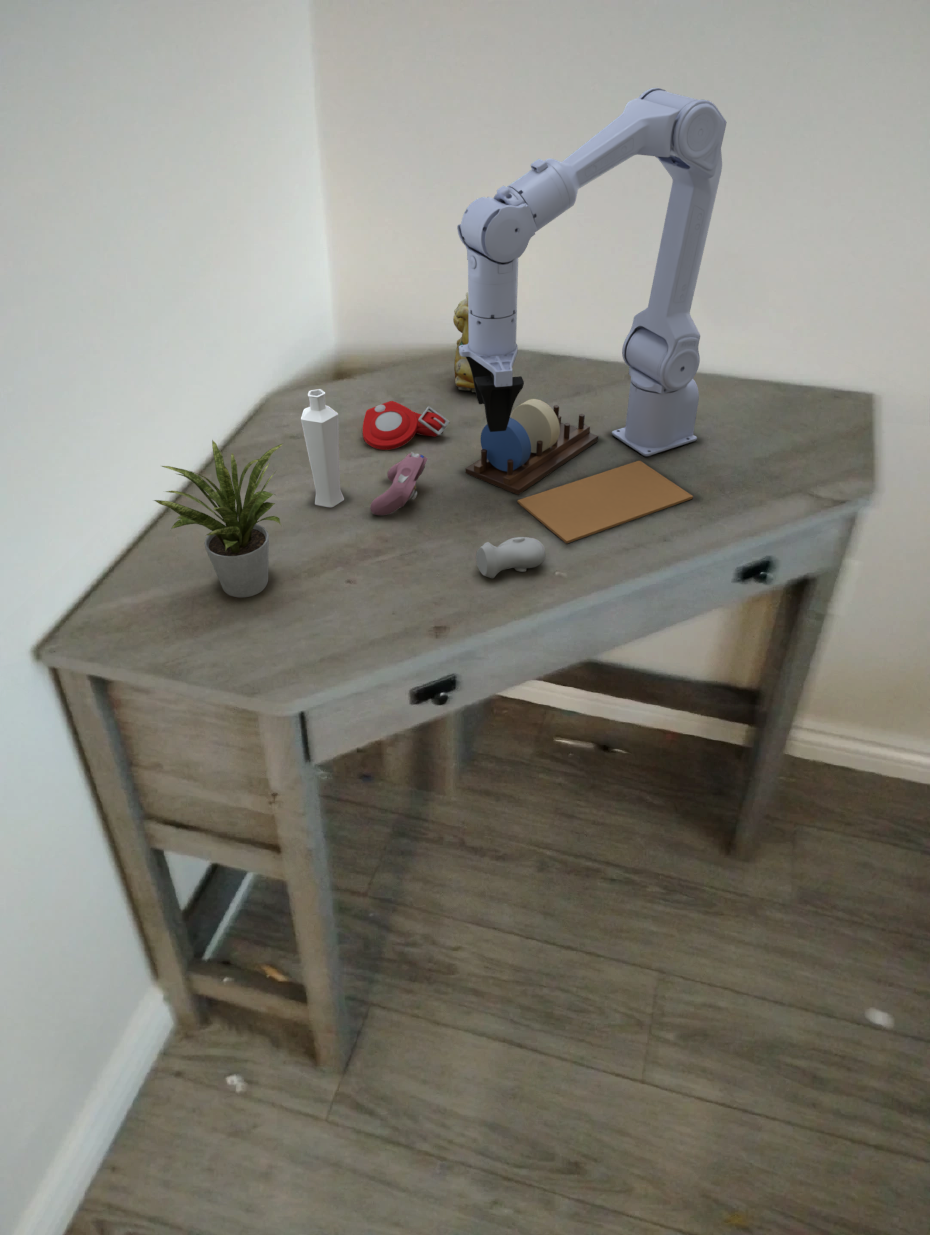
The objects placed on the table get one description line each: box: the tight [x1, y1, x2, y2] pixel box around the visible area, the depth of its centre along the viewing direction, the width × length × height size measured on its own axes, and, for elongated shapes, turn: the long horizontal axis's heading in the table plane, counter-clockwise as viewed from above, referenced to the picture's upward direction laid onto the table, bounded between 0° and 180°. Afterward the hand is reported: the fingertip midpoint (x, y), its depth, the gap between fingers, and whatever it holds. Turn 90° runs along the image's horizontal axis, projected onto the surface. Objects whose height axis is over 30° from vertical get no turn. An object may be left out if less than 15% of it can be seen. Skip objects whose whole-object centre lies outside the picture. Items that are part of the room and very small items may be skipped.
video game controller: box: [369, 450, 429, 516], centre depth 120 cm, size 10×5×7 cm, turn 168°
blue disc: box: [480, 417, 531, 472], centre depth 123 cm, size 2×7×7 cm, turn 50°
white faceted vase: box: [300, 388, 345, 508], centre depth 117 cm, size 5×4×15 cm
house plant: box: [152, 439, 285, 598], centre depth 103 cm, size 14×14×16 cm
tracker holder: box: [362, 400, 450, 451], centre depth 135 cm, size 12×4×10 cm
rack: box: [464, 404, 599, 496], centre depth 129 cm, size 19×9×4 cm, turn 140°
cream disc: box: [510, 398, 560, 453], centre depth 127 cm, size 2×7×7 cm, turn 50°
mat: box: [517, 460, 694, 544], centre depth 121 cm, size 20×11×1 cm, turn 120°
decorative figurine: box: [452, 291, 476, 393], centre depth 143 cm, size 10×8×15 cm
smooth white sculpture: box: [475, 536, 546, 579], centre depth 108 cm, size 4×8×5 cm
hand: (491, 416), depth 117 cm, fingers open, 7 cm apart
